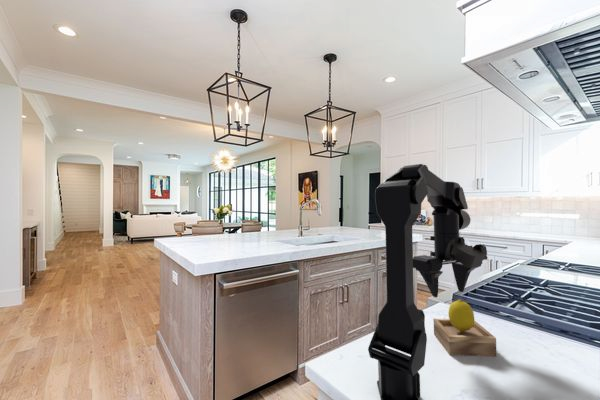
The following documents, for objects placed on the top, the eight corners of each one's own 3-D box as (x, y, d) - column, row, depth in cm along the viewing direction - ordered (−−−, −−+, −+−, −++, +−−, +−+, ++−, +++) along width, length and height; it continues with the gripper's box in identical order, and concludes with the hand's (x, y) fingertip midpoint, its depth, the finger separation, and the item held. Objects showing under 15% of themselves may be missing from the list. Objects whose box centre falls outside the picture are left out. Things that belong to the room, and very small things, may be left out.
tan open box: (449, 354, 65) (449, 336, 65) (434, 334, 75) (433, 318, 75) (496, 356, 63) (495, 338, 63) (474, 335, 73) (473, 319, 73)
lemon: (479, 338, 66) (476, 303, 66) (453, 337, 67) (451, 303, 67) (470, 328, 71) (468, 296, 71) (446, 327, 72) (444, 296, 73)
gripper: (448, 238, 60) (450, 311, 60) (503, 233, 67) (505, 298, 67) (409, 234, 70) (411, 296, 70) (460, 229, 78) (462, 286, 77)
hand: (448, 294), depth 71 cm, fingers open, 9 cm apart
